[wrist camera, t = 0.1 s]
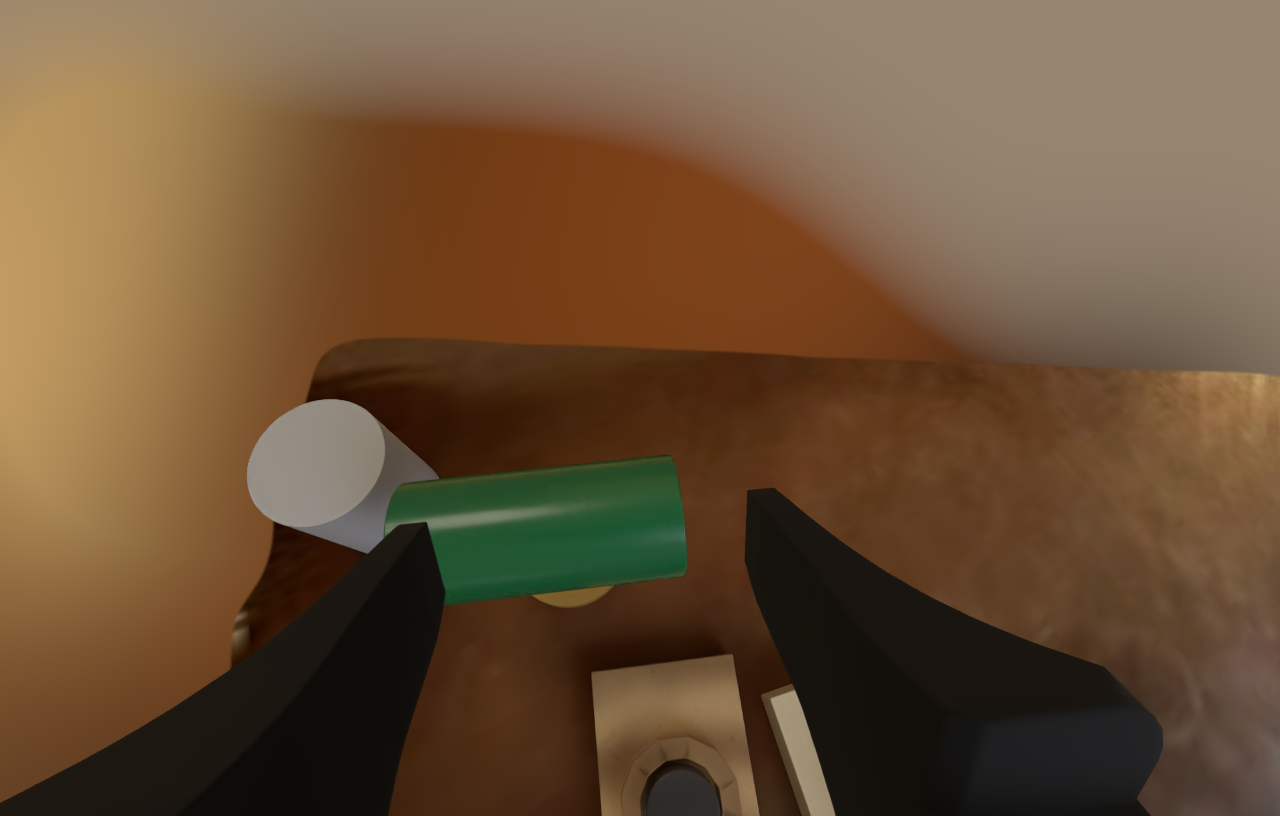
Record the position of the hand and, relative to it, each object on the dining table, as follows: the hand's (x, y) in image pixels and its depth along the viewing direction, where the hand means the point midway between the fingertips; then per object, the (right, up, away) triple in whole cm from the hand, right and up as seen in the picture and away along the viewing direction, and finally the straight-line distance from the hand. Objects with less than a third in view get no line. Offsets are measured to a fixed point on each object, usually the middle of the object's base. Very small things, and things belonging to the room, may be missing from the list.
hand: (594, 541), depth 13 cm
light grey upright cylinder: (-19, -5, +32) cm, 38 cm away
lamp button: (+4, -22, +22) cm, 31 cm away
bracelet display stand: (-4, -8, +31) cm, 33 cm away
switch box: (+3, -21, +26) cm, 34 cm away
